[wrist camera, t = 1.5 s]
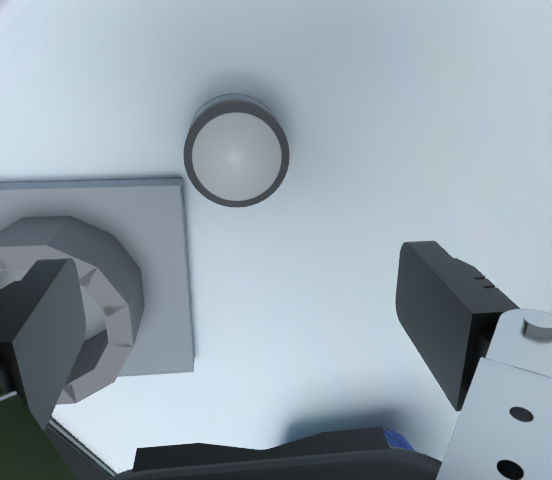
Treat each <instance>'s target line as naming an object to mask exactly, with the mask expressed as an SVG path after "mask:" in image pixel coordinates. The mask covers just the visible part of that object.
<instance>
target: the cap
mask: <svg viewBox="0 0 552 480" xmlns="http://www.w3.org/2000/svg"><path fill="white" fill-rule="evenodd" d="M184 164H185V168H186V172H187V174H188V177H189V179H190V180H191V182H192V184H193V185H194V186H195V188H196V189H197V190H198V191H199V192H200V193H201V194H202V195H203V196H205V197H206V198H207V199H209V200H211V201H212V202H215V203H217V204H220V205H223V206H228V207H246V206H251V205H254V204H257V203H259V202H261V201H263V200H265V199H266V198H268V197H269V196H270V195H271V194H273V193H274V192H275V191H276V189H277V188H278V187H279V186H280V184H281V183H282V181H283V179H284V177H285V175H286V172H287V169H288V165H289V147H288V142H287V139H286V136H285V134H284V132H283V130H282V128H281V127H280V125H279V124H278V122H277V121H276V119H275V118H274V116H273V115H272V113H271V112H270V111H269V110H268V108H267V107H266V106H264V105H263V104H262V103H261V102H259V101H258V100H256V99H254V98H252V97H249V96H246V95H242V94H226V95H221V96H218V97H216V98H214V99H212V100H210V101H208V102H207V103H206V104H204V105H203V106H202V107H201V108H200V109H199V111H198V112H197V113H196V115H195V117H194V118H193V121H192V123H191V126H190V129H189V132H188V135H187V138H186V142H185V146H184Z"/></svg>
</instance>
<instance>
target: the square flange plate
mask: <svg viewBox="0 0 552 480" xmlns="http://www.w3.org/2000/svg"><path fill="white" fill-rule="evenodd" d="M60 258H72V259H73V260H74V262H75V264H76V267H77V272H78V278H79V283H80V289H81V294H82V300H83V306H84V311H85V317H86V333H85V339H84V342H83V344H82V347H81V349H80V351H79V354H78V356H77V358H76V360H75V363H74V365H73V367H72V369H71V372H70V374H69V376H68V378H67V381H66V383H65V385H64V387H63V390H62V392H61V394H60V396H59V399H58V401H57V403H56V405H57V404H72V403H77V402H79V401H81V400H83V399H85V398H86V397H88V396H90V395H92V394H94V393H95V392H97V391H99V390H101V389H102V388H104V387H106V386H108V385H110V384H111V383H113V382H115V380H116V378H117V377H120V376H136V375H152V374H168V373H184V372H193V370H194V344H193V330H192V315H191V301H190V287H189V273H188V259H187V245H186V231H185V217H184V202H183V188H182V178H160V179H118V180H76V181H34V182H0V289H2V288H3V287H5V286H7V285H8V284H10V283H12V282H13V281H20V280H21V279H22V278H23V277H24V276H25V274H26V273H27V272H28V271H29V269H30V268H31V267H32V266H33V264H34V263H35V262H36V261H37V260H40V259H60Z"/></svg>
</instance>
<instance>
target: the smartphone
mask: <svg viewBox="0 0 552 480" xmlns="http://www.w3.org/2000/svg"><path fill="white" fill-rule="evenodd" d="M44 433H45V434H46V435H47V437H48V438H49V440H50V441H51V443H52V444H53V446H54V447H55V449H56V450H57V451H58V453H59V454H60V456H61V457H62V459H63V460H64V462H65V463H66V465H67V466H68V467H69V469H70V470H71V472H72V473H73V475H74V476H75V478H76V479H77V480H105V479H107V478H109V477H112V476H114V475H117V474H116V473H115V472H113V471H112V470H111V469H110V468H109V467H108V466H106V465H105V464H104V463H103V462H102V461H101V460H99V459H98V458H97V457H96V456H95V455H94V454H92V453H91V452H90V451H89V450H88V449H87V448H85V447H84V446H83V445H82V444H81V443H80V442H78V441H77V440H76V439H75V438H74V437H73V436H71V435H70V434H69V433H68V432H67V431H65V430H64V429H63V428H62V427H61V426H60V425H58V424H57V423H56V422H55V421H54V420H53V419H51V418H50V419H49V421H48V424H47V426H46V428H45V430H44Z"/></svg>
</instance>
